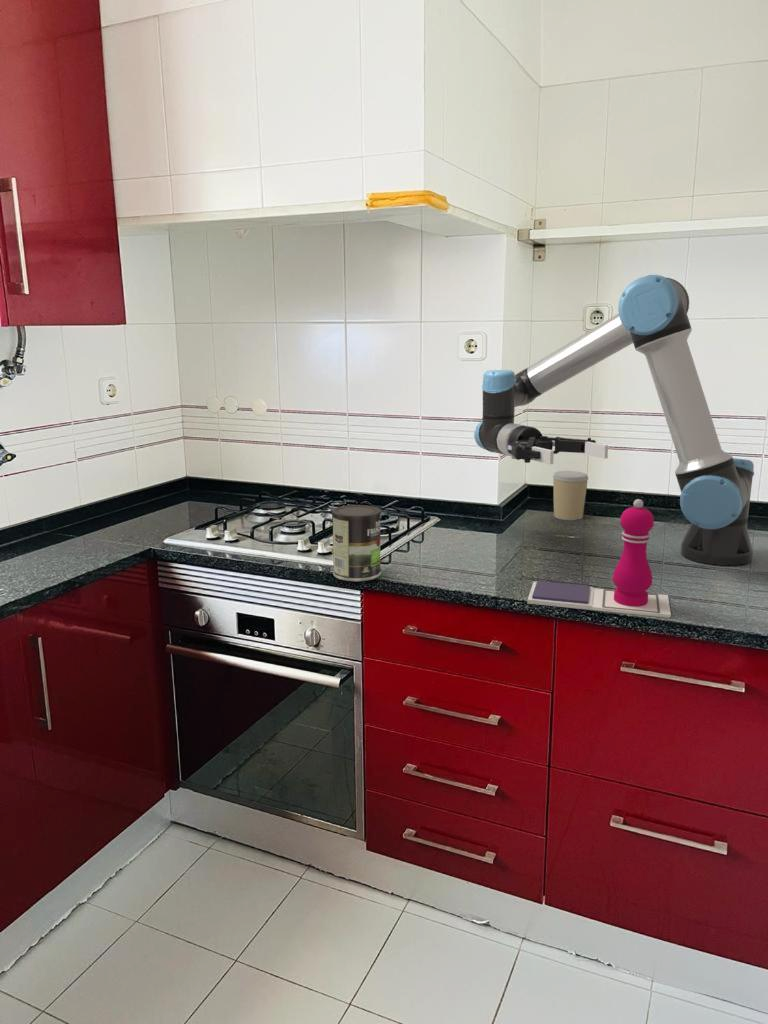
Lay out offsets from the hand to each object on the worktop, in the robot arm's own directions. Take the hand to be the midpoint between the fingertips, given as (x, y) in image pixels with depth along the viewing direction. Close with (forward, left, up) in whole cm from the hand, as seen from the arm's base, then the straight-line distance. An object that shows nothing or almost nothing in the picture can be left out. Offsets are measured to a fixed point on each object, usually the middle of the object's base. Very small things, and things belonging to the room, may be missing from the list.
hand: (579, 454), depth 160 cm
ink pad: (+1, +13, -26) cm, 29 cm away
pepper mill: (-12, +13, -26) cm, 31 cm away
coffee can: (+44, +11, -26) cm, 53 cm away
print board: (-12, +13, -26) cm, 32 cm away
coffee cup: (+4, -53, -26) cm, 59 cm away
